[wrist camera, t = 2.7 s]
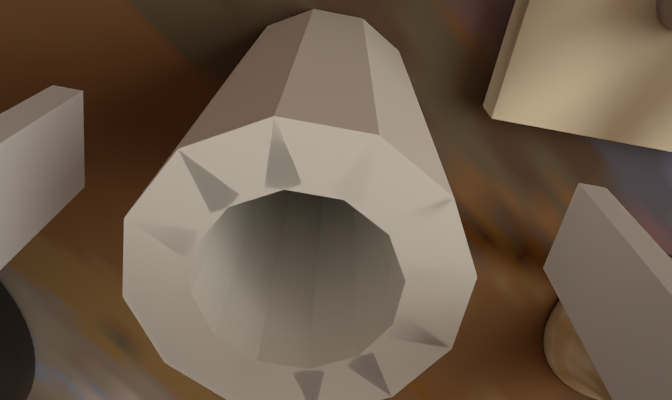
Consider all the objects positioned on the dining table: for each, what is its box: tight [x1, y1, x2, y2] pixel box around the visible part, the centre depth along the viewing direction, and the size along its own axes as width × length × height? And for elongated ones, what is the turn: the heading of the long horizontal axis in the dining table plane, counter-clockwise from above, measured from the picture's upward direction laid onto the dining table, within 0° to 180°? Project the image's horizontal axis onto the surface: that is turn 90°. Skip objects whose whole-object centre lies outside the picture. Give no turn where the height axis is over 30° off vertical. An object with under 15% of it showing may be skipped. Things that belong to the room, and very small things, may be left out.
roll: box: [123, 9, 477, 400], centre depth 16 cm, size 7×7×12 cm
